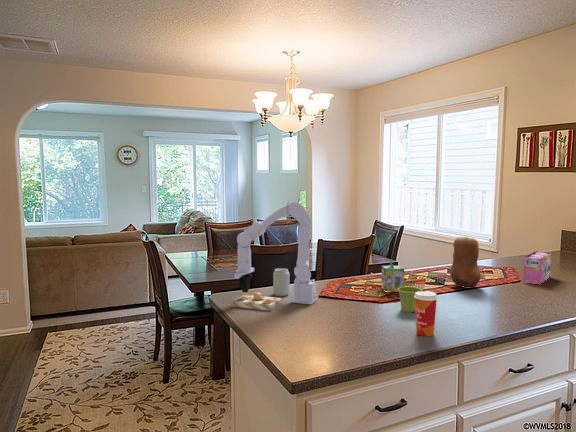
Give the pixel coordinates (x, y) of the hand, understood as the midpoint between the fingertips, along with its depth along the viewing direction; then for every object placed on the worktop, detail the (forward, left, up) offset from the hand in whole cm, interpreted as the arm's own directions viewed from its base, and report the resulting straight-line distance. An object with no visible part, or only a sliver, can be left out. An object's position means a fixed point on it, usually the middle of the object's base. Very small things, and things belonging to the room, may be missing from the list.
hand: (245, 291), depth 182 cm
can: (-9, -19, -5) cm, 22 cm away
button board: (-6, 0, -5) cm, 8 cm away
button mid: (-6, 0, -3) cm, 7 cm away
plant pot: (-67, -15, -5) cm, 69 cm away
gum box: (-123, -92, -6) cm, 153 cm away
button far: (0, 0, -5) cm, 5 cm away
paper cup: (-75, +10, -5) cm, 76 cm away
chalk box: (-56, -44, -6) cm, 71 cm away
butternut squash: (-88, -63, -5) cm, 108 cm away
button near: (-12, 0, -5) cm, 13 cm away
